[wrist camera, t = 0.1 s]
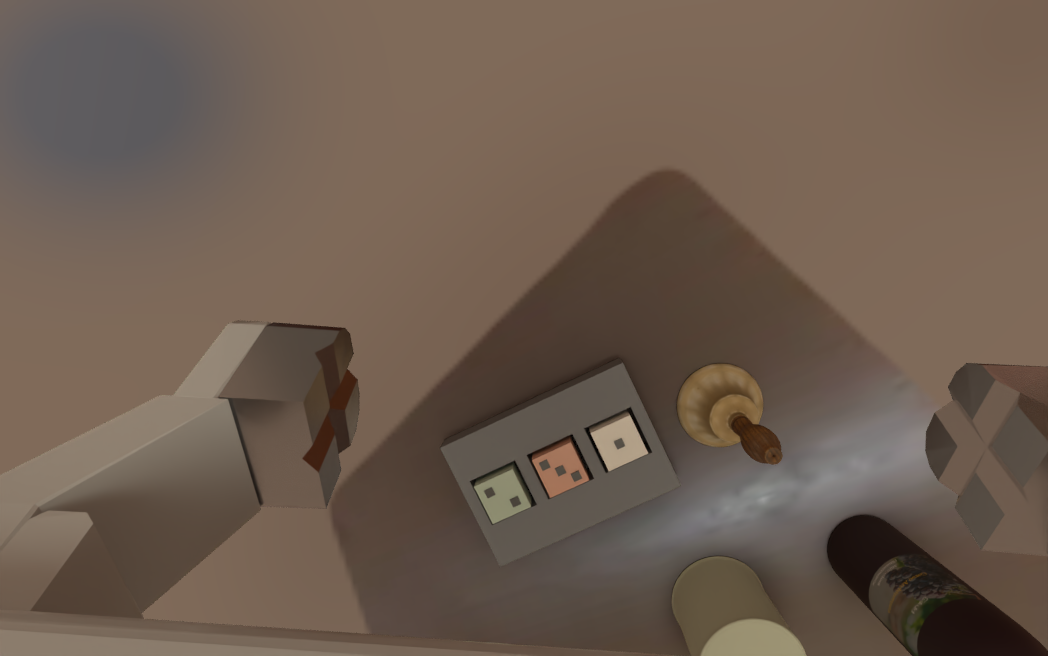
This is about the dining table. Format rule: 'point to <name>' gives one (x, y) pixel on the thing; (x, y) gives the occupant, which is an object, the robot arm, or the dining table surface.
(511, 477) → the button two
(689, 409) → the hand bell
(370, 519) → the dining table surface
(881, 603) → the wine bottle
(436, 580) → the dining table surface
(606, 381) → the button panel
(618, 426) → the button one
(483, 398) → the dining table surface
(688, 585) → the can
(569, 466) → the button three
